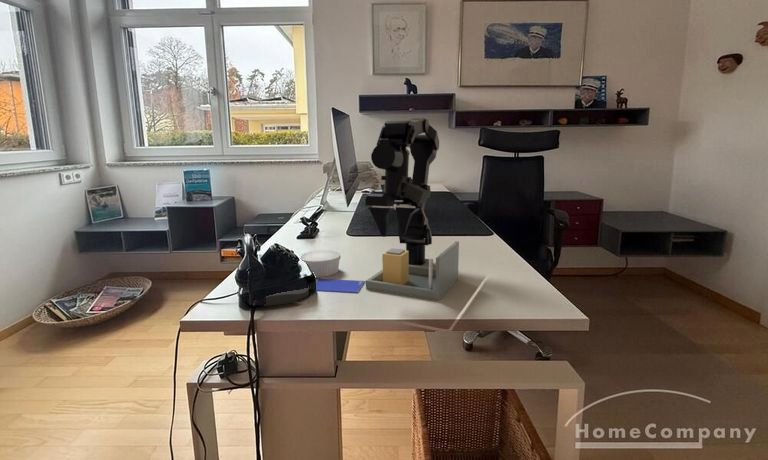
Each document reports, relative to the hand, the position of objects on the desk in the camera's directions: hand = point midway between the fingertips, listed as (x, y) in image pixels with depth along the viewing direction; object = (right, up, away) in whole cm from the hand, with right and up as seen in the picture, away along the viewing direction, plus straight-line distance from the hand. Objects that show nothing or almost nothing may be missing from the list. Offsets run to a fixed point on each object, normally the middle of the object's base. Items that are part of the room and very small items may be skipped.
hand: (393, 235), depth 105 cm
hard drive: (-14, -14, +2) cm, 20 cm away
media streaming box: (-29, -15, -1) cm, 32 cm away
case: (+5, -13, +3) cm, 14 cm away
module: (+1, -12, +3) cm, 13 cm away
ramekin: (-20, -11, +13) cm, 27 cm away
